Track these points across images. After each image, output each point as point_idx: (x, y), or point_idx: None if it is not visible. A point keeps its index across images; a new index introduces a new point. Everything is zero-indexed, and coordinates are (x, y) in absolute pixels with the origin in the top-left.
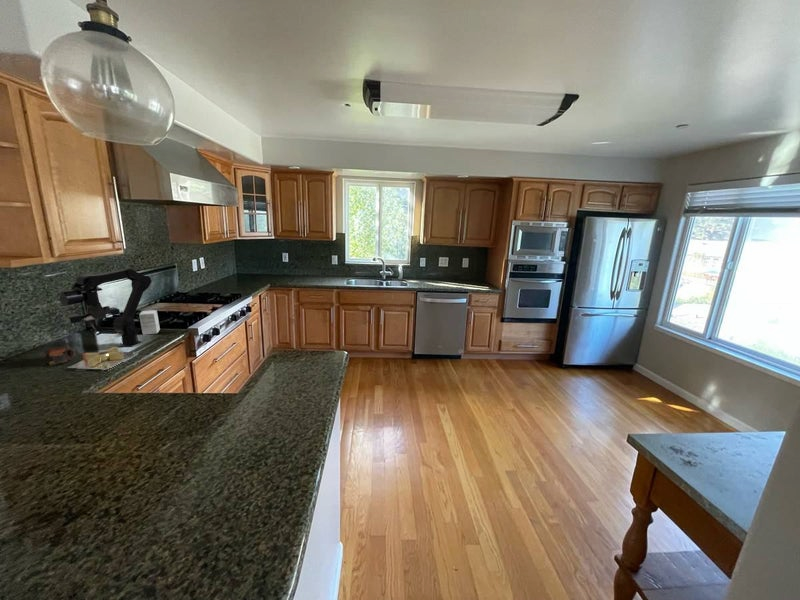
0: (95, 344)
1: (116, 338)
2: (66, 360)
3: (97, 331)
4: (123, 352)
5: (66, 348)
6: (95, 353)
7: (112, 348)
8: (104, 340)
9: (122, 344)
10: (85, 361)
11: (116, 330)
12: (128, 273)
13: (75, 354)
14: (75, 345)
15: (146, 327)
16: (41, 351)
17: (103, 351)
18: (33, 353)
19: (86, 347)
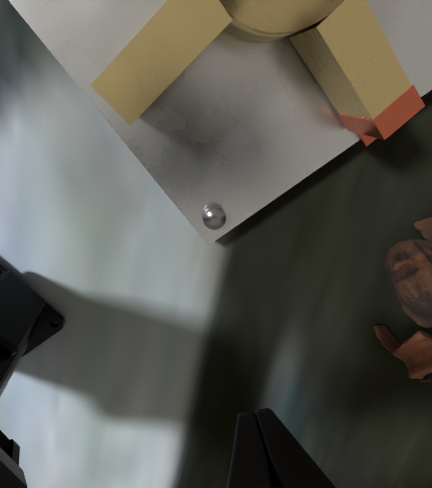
0: (191, 447)
1: (72, 481)
2: (429, 230)
3: (265, 409)
4: (60, 47)
5: (422, 358)
6: (341, 9)
7: (149, 50)
8: (137, 482)
9: (47, 332)
10: None
11: (10, 466)
12: None
13: (391, 249)
14: None
15: None
16: (389, 482)
17: (259, 6)
18: (417, 475)
19: None
